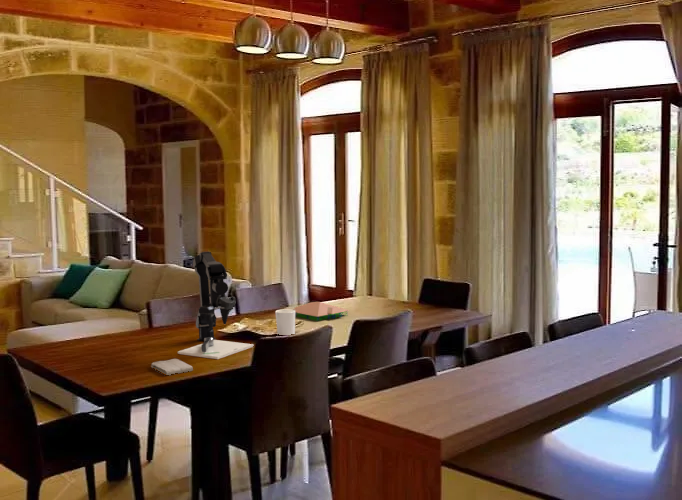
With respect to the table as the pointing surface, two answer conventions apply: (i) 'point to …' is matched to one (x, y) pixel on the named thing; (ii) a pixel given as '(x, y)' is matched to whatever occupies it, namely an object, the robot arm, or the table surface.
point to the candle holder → (285, 321)
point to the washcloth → (171, 366)
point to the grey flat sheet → (216, 349)
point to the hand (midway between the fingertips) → (218, 326)
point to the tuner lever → (207, 343)
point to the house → (319, 310)
